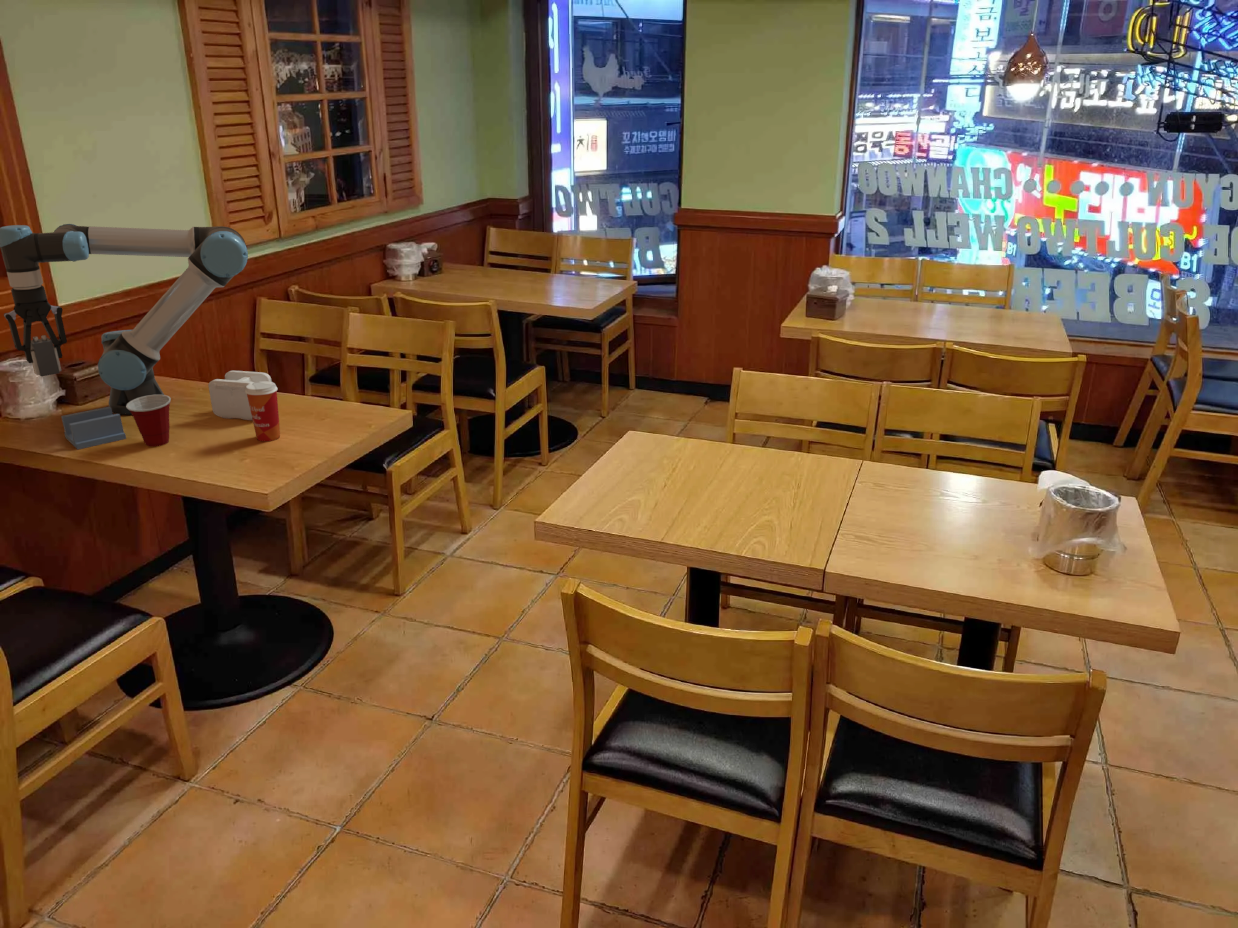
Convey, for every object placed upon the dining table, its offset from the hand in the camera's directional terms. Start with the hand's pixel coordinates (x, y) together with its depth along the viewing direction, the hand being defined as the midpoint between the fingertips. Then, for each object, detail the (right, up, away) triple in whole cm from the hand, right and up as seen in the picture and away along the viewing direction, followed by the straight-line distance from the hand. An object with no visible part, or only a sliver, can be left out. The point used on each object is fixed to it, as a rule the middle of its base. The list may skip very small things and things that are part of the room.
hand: (48, 371), depth 250 cm
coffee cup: (+60, -18, +1) cm, 62 cm away
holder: (+13, -18, 0) cm, 22 cm away
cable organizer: (+46, -11, +19) cm, 51 cm away
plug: (0, 0, 0) cm, 0 cm away
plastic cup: (+31, -20, -3) cm, 37 cm away
